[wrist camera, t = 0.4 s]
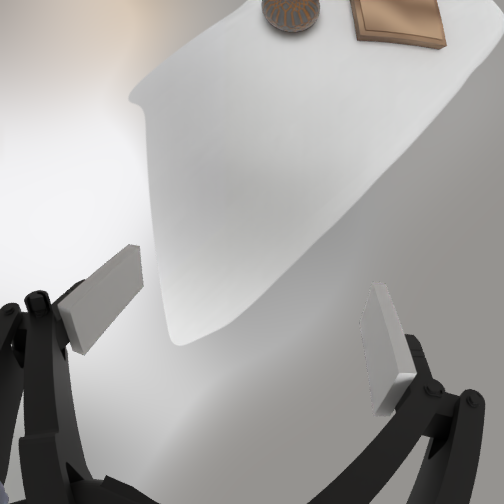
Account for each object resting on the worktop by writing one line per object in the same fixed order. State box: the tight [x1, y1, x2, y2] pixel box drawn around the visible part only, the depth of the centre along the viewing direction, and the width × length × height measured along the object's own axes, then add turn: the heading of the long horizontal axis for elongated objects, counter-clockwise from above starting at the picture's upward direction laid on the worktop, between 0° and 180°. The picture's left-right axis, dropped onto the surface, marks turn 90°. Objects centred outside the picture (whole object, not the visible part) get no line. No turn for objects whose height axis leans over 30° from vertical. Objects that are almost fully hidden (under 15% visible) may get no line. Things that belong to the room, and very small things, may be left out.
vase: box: [262, 0, 320, 32], centre depth 26 cm, size 7×7×9 cm
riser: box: [350, 0, 447, 49], centre depth 25 cm, size 12×12×3 cm
